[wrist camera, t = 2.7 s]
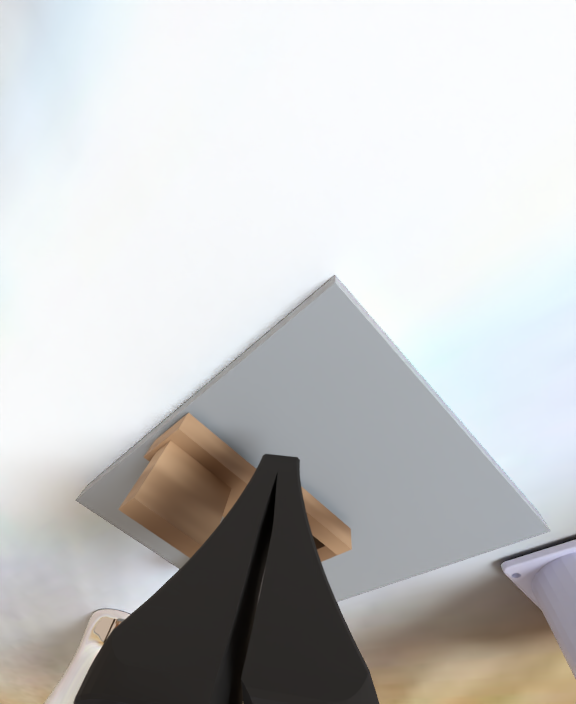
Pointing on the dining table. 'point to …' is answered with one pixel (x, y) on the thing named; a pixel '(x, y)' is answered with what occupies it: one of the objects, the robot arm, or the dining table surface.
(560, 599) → the robot arm
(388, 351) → the base board
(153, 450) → the brown wooden blocky piece
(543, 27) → the dining table surface
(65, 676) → the beer glass
